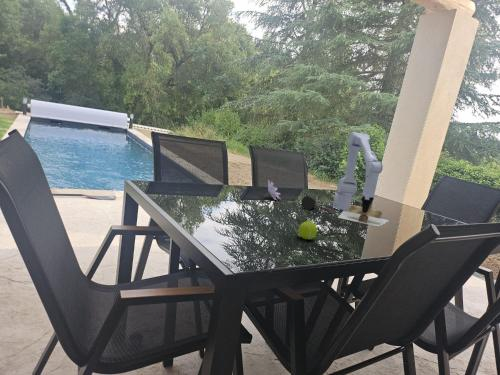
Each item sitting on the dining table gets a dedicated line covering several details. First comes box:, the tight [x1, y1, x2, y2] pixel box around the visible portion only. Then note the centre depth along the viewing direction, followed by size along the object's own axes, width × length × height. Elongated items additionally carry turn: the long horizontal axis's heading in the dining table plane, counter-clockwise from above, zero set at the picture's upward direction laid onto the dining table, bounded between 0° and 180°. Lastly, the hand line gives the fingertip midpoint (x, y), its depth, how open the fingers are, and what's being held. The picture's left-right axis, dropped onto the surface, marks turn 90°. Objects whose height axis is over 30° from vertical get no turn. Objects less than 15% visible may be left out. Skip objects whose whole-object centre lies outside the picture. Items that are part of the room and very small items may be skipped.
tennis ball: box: [298, 220, 318, 241], centre depth 148 cm, size 7×7×7 cm
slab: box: [337, 210, 389, 228], centre depth 198 cm, size 24×22×1 cm
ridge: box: [359, 215, 368, 223], centre depth 194 cm, size 4×8×3 cm, turn 159°
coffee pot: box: [300, 195, 337, 214], centre depth 204 cm, size 8×18×8 cm
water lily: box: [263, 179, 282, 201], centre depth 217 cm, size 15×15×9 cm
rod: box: [347, 204, 383, 219], centre depth 193 cm, size 16×3×3 cm, turn 69°
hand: (364, 211), depth 194 cm, fingers open, 5 cm apart
